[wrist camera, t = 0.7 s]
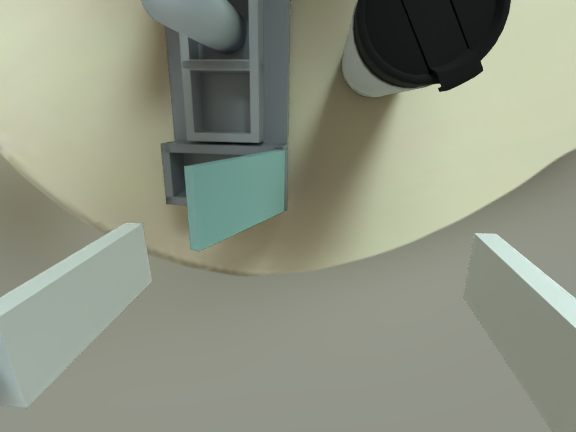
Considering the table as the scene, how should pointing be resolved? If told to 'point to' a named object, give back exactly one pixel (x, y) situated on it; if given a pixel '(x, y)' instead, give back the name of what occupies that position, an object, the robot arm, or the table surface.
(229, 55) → the housing
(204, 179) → the lid
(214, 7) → the ball
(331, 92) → the table surface
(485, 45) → the travel mug
